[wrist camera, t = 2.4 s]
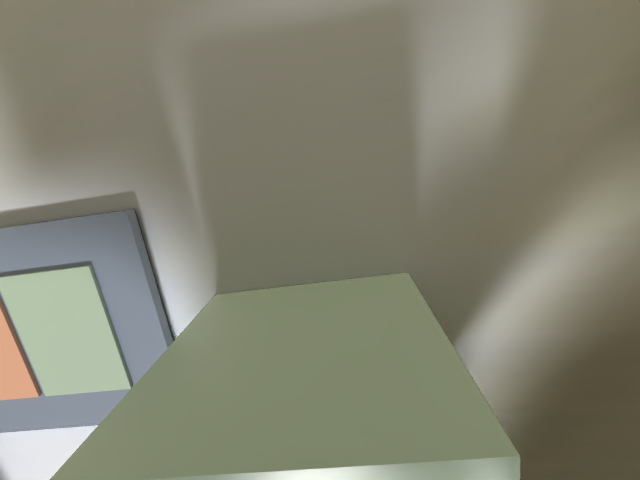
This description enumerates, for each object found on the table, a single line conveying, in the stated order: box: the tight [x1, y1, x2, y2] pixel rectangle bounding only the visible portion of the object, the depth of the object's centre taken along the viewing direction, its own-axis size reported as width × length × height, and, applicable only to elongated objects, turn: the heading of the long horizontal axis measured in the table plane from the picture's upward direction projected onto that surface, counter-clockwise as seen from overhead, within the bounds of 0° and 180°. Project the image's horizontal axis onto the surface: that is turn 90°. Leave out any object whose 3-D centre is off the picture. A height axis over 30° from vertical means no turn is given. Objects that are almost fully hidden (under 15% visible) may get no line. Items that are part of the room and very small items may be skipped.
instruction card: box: [0, 209, 173, 433], centre depth 9 cm, size 6×8×1 cm
